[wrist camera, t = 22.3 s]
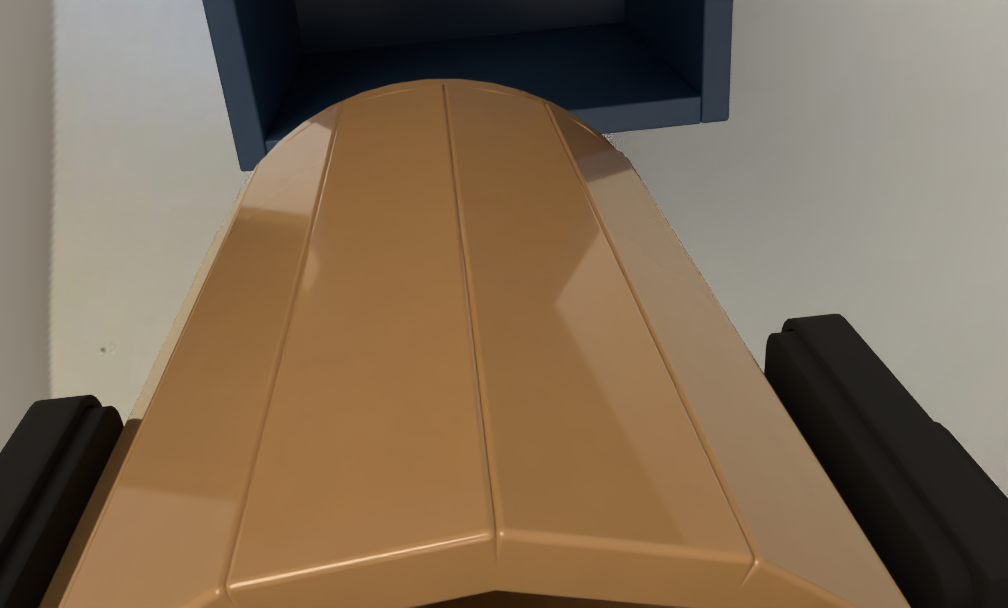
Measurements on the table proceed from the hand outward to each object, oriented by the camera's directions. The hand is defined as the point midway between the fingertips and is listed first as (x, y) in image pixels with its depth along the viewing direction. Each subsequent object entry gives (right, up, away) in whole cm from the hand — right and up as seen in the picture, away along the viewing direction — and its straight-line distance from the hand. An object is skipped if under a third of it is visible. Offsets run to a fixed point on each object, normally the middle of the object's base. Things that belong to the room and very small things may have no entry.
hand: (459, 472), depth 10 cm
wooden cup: (0, +2, +4) cm, 4 cm away
